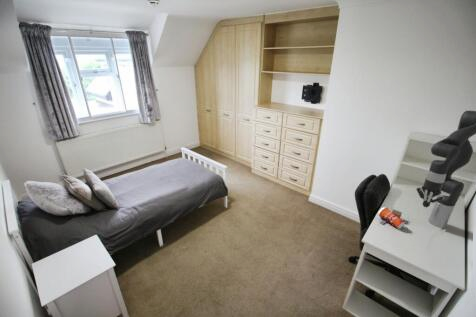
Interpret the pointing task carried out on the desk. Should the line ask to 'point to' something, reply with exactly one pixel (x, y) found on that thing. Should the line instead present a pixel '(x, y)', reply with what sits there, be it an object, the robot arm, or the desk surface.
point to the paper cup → (390, 217)
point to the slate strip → (383, 222)
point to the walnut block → (397, 213)
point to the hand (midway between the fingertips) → (425, 206)
